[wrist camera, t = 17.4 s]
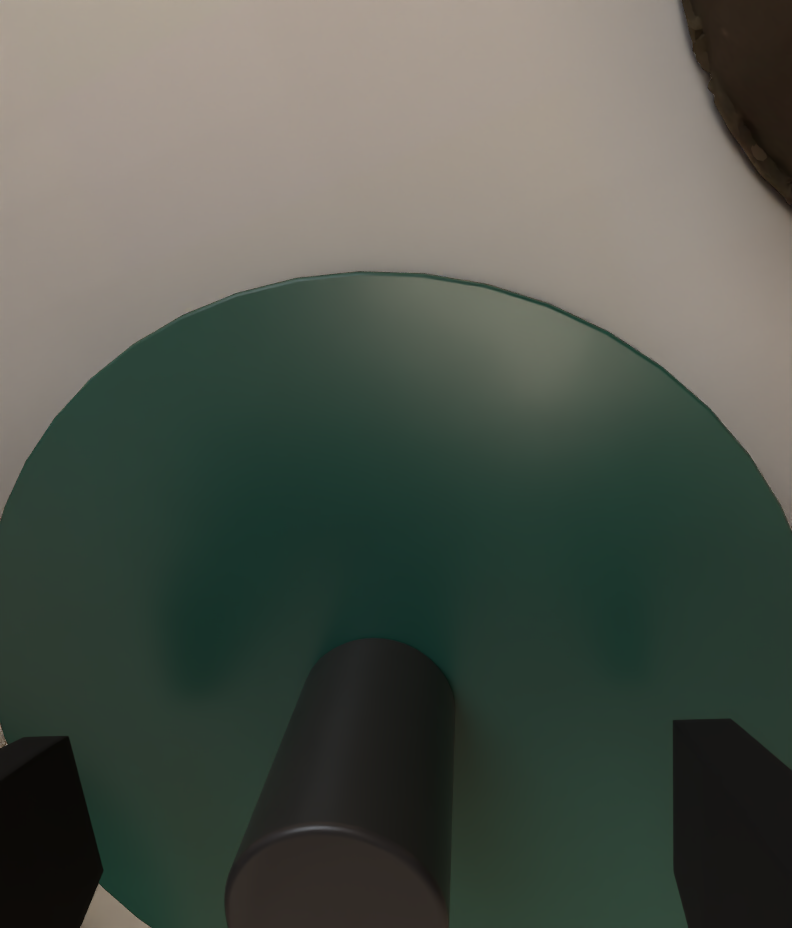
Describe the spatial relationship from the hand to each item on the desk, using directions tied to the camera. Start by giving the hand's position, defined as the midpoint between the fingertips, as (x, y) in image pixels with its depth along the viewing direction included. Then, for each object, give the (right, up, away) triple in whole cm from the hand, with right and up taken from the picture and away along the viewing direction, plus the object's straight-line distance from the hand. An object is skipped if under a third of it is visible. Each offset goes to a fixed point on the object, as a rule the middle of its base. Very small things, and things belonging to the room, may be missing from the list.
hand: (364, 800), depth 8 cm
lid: (0, +1, +2) cm, 2 cm away
